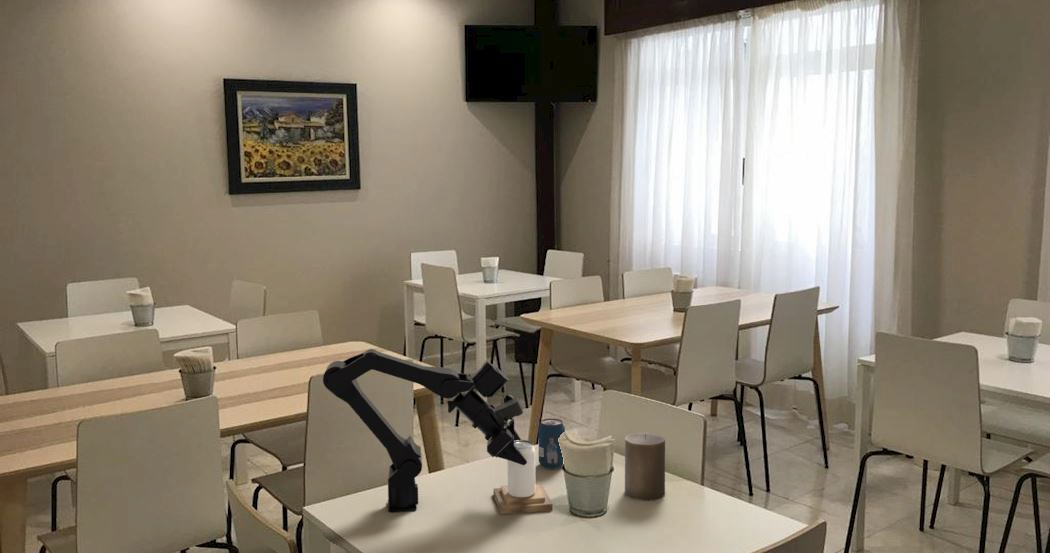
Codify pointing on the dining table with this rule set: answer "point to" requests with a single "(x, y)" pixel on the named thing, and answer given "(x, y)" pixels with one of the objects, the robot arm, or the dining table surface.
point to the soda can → (550, 443)
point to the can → (522, 472)
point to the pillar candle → (645, 466)
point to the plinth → (522, 501)
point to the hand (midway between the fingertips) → (525, 456)
